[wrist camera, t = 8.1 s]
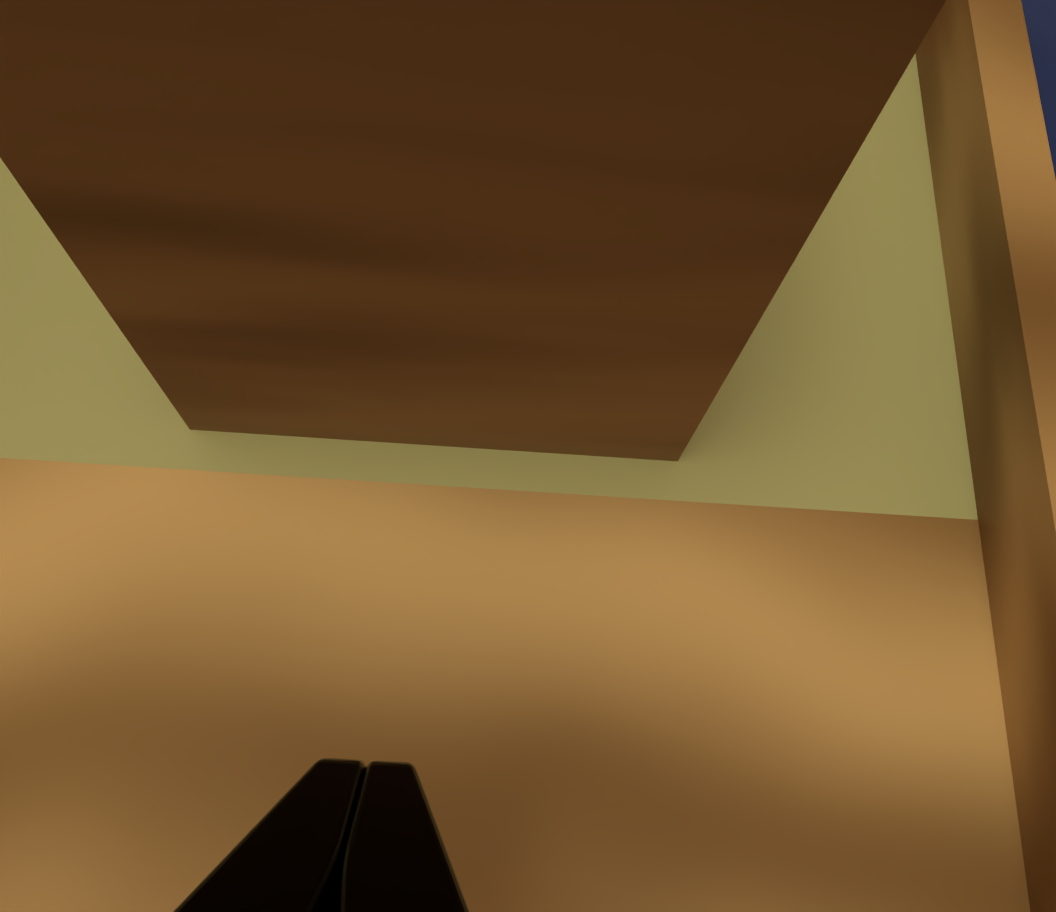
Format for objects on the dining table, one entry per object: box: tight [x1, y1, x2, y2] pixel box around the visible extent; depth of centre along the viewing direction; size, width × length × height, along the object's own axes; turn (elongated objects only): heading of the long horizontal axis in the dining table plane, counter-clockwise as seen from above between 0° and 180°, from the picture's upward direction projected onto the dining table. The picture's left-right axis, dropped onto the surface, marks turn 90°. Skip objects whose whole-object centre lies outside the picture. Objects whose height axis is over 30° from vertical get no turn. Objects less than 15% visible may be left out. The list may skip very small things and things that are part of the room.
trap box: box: [0, 0, 1056, 912], centre depth 16 cm, size 51×20×4 cm, turn 177°
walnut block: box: [0, 0, 946, 461], centre depth 12 cm, size 8×8×10 cm
